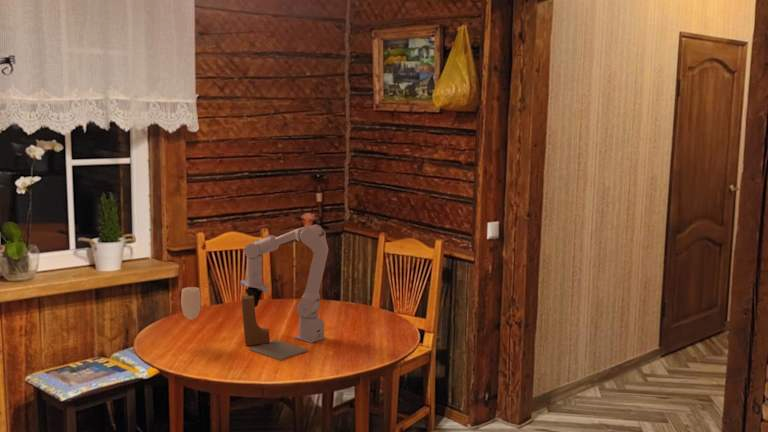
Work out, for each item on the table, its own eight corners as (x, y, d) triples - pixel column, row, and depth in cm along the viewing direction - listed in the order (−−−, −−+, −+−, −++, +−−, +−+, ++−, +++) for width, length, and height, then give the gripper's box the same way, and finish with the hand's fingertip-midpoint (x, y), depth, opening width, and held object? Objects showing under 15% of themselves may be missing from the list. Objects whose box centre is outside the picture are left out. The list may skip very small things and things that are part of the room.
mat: (308, 351, 281) (308, 349, 281) (280, 360, 270) (280, 359, 270) (276, 341, 291) (276, 339, 291) (248, 349, 281) (248, 348, 281)
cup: (205, 340, 290) (204, 287, 287) (195, 346, 283) (194, 292, 280) (188, 338, 292) (187, 286, 289) (178, 344, 285) (177, 290, 282)
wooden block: (269, 339, 291) (265, 294, 288) (269, 343, 286) (265, 297, 283) (245, 342, 289) (241, 296, 286) (245, 345, 285) (241, 299, 282)
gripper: (234, 271, 300) (234, 304, 302) (258, 277, 291) (258, 311, 293) (248, 268, 305) (248, 301, 308) (272, 274, 296) (272, 308, 298)
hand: (254, 306), depth 301 cm, fingers closed
